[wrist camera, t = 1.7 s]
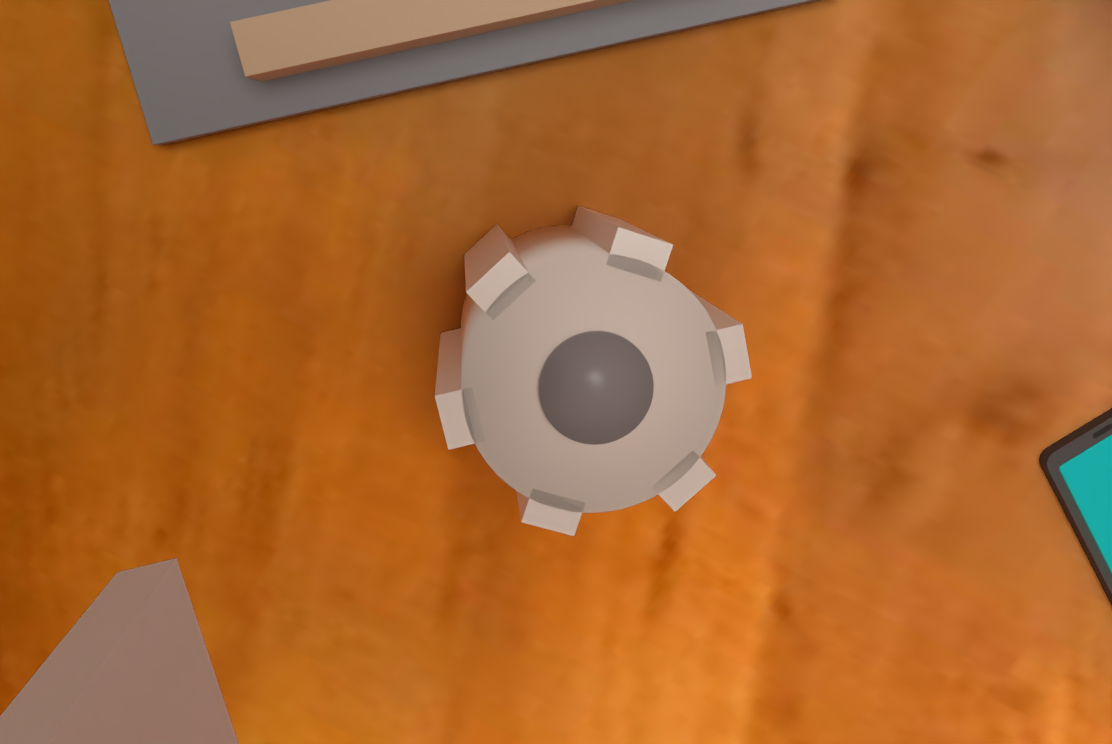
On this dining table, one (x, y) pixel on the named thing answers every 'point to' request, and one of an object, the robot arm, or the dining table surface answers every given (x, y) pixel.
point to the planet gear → (586, 369)
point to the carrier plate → (361, 48)
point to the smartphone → (1086, 489)
